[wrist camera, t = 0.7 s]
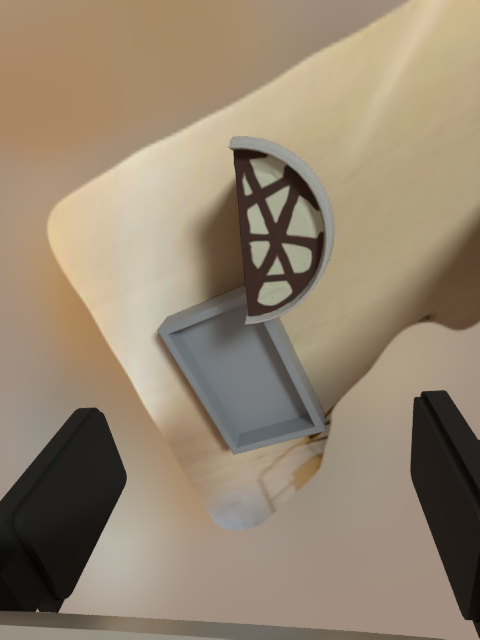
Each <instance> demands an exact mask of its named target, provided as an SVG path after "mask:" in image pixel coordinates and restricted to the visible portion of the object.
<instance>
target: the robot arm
mask: <svg viewBox="0 0 480 640" xmlns="http://www.w3.org/2000/svg"><path fill="white" fill-rule="evenodd" d="M413 408H414V409H413V427H412V447H411V477H412V481H413V484H414V487H415V490H416V493H417V495H418V498H419V501H420V503H421V506H422V509H423V512H424V514H425V517H426V520H427V522H428V525H429V528H430V530H431V533H432V536H433V539H434V541H435V544H436V547H437V549H438V552H439V555H440V557H441V560H442V563H443V565H444V568H445V571H446V573H447V576H448V579H449V582H450V584H451V587H452V590H453V592H454V595H455V598H456V601H457V603H458V606H459V609H460V611H461V614H462V616H463V617H464V619H465V620H473V623H474V626H475V628H476V631H477V633H478V636H479V638H480V440H478V439H477V437H476V436H475V434H474V433H473V432H472V430H471V428H470V427H469V426H468V424H467V422H466V421H465V419H464V418H463V416H462V415H461V413H460V411H459V410H458V408H457V407H456V405H455V404H454V402H453V401H452V399H451V398H450V396H449V394H448V393H447V392H446V391H444V390H441V391H423V392H422V393H421V397H415V398H414V407H413ZM126 480H127V475H126V471H125V469H124V466H123V463H122V460H121V458H120V455H119V453H118V450H117V447H116V445H115V442H114V439H113V437H112V434H111V431H110V429H109V426H108V423H107V421H106V418H105V416H104V414H103V413H102V412H100V411H99V410H98V409H97V408H79V409H77V410H76V411H74V413H73V414H72V415H71V416H70V417H69V419H68V420H67V421H66V422H65V423H64V425H63V426H62V427H61V428H60V430H59V431H58V432H57V433H56V435H55V436H54V437H53V438H52V439H51V440H50V442H49V443H48V444H47V445H46V447H45V448H44V449H43V450H42V451H41V453H40V454H39V455H38V456H37V457H36V459H35V460H34V461H33V462H32V464H31V465H30V466H29V467H28V468H27V469H26V471H25V472H24V473H23V474H22V476H21V477H20V478H19V479H18V480H17V482H16V483H15V484H14V485H13V486H12V488H11V489H10V490H9V491H8V493H7V494H6V495H5V496H4V497H3V499H2V500H1V501H0V640H443V639H437V638H426V637H415V636H403V635H391V634H378V633H368V632H356V631H341V630H326V629H310V628H296V627H280V626H266V625H250V624H233V623H219V622H202V621H186V620H169V619H152V618H136V617H118V616H100V615H81V614H62V613H58V612H59V610H60V608H61V606H62V604H63V602H64V600H65V599H66V598H68V597H69V596H70V595H71V594H72V592H73V590H74V588H75V586H76V584H77V582H78V580H79V578H80V576H81V574H82V572H83V570H84V568H85V566H86V564H87V562H88V560H89V558H90V556H91V554H92V552H93V549H94V548H95V546H96V544H97V541H98V539H99V537H100V535H101V533H102V531H103V529H104V527H105V525H106V523H107V521H108V519H109V517H110V515H111V513H112V511H113V509H114V507H115V505H116V503H117V501H118V499H119V497H120V495H121V493H122V490H123V489H124V487H125V484H126ZM37 608H38V610H39V611H40V612H36V610H37ZM44 612H52V613H44Z"/></svg>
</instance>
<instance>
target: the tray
mask: <svg viewBox="0 0 480 640" xmlns="http://www.w3.org/2000/svg"><path fill="white" fill-rule="evenodd" d="M247 312H248V307H247V297H246V286H245V285H243V286H241V287H238V288H236V289H233V290H231V291H229V292H226V293H224V294H222V295H219V296H217V297H214V298H212V299H210V300H207V301H205V302H202V303H200V304H198V305H195V306H193V307H190V308H188V309H186V310H183V311H181V312H178V313H176V314H174V315H171V316H169V317H167V318H166V319H165V321H164V322H163V323H162V324H161V326H160V327H159V328H158V330H157V331H158V333H159V334H160V336H161V337H162V339H163V341H164V342H165V344H166V346H167V347H168V349H169V350H170V352H171V354H172V355H173V357H174V359H175V360H176V362H177V363H178V365H179V367H180V368H181V370H182V372H183V373H184V375H185V376H186V378H187V380H188V381H189V383H190V385H191V386H192V388H193V389H194V391H195V393H196V394H197V396H198V398H199V399H200V401H201V403H202V404H203V406H204V407H205V409H206V411H207V412H208V414H209V416H210V417H211V419H212V420H213V422H214V424H215V425H216V427H217V429H218V430H219V432H220V433H221V435H222V437H223V438H224V440H225V442H226V443H227V445H228V446H229V448H230V450H231V451H232V453H233V455H235V454H239V453H242V452H246V451H250V450H254V449H258V448H261V447H265V446H269V445H273V444H277V443H281V442H284V441H288V440H292V439H296V438H300V437H304V436H307V435H311V434H315V433H319V432H323V431H326V428H325V419H324V411H323V409H322V407H321V405H320V403H319V400H318V398H317V396H316V394H315V392H314V390H313V388H312V386H311V384H310V382H309V379H308V377H307V375H306V373H305V371H304V369H303V367H302V365H301V363H300V360H299V358H298V356H297V354H296V352H295V350H294V348H293V346H292V344H291V342H290V339H289V337H288V335H287V333H286V331H285V329H284V327H283V325H282V323H281V321H280V318H279V317H276V318H274V319H271V320H268V321H264V322H260V323H254V324H245V321H246V317H247Z"/></svg>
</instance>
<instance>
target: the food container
mask: <svg viewBox="0 0 480 640" xmlns="http://www.w3.org/2000/svg"><path fill="white" fill-rule="evenodd" d="M228 148H230V149H231V150H233V151H234V166H235V172H236V182H237V195H238V207H239V219H240V233H241V246H242V254H243V264H244V275H245V286H246V297H247V307H248V312H247V317H246V321H245V324H254V323H260V322H264V321H268V320H271V319H274V318H276V317H279V316H281V315H283V314H285V313H287V312H288V311H290V310H292V309H293V308H295V307H296V306H297V305H299V304H300V303H301V302H302V301H303V300H305V298H306V297H307V296H308V295H309V294H310V293H311V292H312V291H313V290H314V288H315V286H316V285H317V283H318V282H319V280H320V279H321V277H322V275H323V273H324V271H325V269H326V267H327V265H328V262H329V260H330V256H331V252H332V249H333V243H334V232H335V230H334V216H333V212H332V208H331V203H330V200H329V198H328V195H327V193H326V190H325V188H324V186H323V185H322V183H321V181H320V180H319V178H318V177H317V175H316V173H315V172H314V171H313V170H312V169H311V168H310V167H309V166H308V164H307V163H306V162H305V161H304V160H302V159H301V158H300V157H298V156H297V155H296V154H295V153H293V152H292V151H290V150H288V149H287V148H285V147H283V146H281V145H279V144H277V143H274V142H271V141H268V140H265V139H261V138H254V137H248V136H242V137H232V139H231V140H230V146H228Z"/></svg>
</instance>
